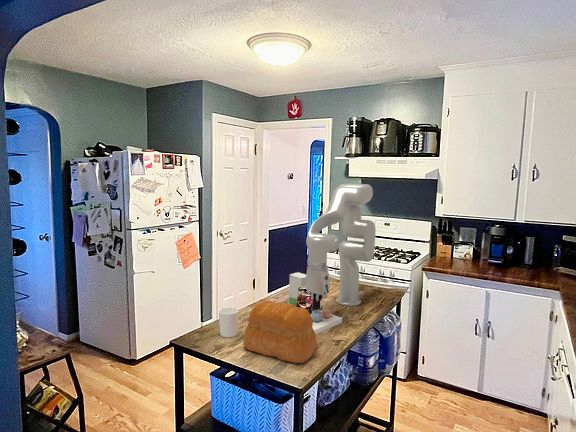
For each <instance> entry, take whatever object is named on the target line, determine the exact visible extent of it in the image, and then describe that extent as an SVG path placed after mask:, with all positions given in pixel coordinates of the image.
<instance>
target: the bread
mask: <svg viewBox="0 0 576 432" xmlns="http://www.w3.org/2000/svg"><path fill="white" fill-rule="evenodd" d="M247 321H248V323H247V326H246V328H245V331H244V335H243V346H244V348H246V349H247V350H249V351H251V352H255V353H258V354H261V355H264V356H268V357H275V358H277V359H278V360H281V361H286V362H289V363H290V362H291V363H294V364H297V363H298V364H299V363H301V364H302V363H305V362H307V361H308V360H309V359H310V358H311V357H313V356H314V354H315V351H316V350H317V347H318V342H317V336H316V335H317V334H316V335H315V332H314V330H313V327H312V325H313V320H312V317H311V313H310V311H308V309H306V308H305V307H303V306H300V307H296V306H294V305H292V304H288V303H286V302H274V301H273V300H272V301H271V300H264V301H262V302H260V303H258V304H256V305H254V307H253V308H252V309H251V311H250V312H249V316H248V318H247Z"/></svg>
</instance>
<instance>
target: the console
mask: <svg viewBox="0 0 576 432" xmlns="http://www.w3.org/2000/svg"><path fill="white" fill-rule="evenodd" d="M320 311H321V322H319V323H315V322H313V325H312V327H313V330H314V332H315V335H318V334H321V333H322V332H325V331H327V330H329V329H331V328H333V327H335V326H338V325H340V324H343V317H340V316H337V315H334V314H332V313H331V318H329V319H325V318H322V310H320ZM310 315H311V317H312V313H310Z"/></svg>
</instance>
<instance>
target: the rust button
mask: <svg viewBox="0 0 576 432" xmlns="http://www.w3.org/2000/svg"><path fill="white" fill-rule="evenodd" d="M321 311H322V318H325V319H329V318H331V314H332V311H331V310H330V309H322V310H321Z"/></svg>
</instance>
